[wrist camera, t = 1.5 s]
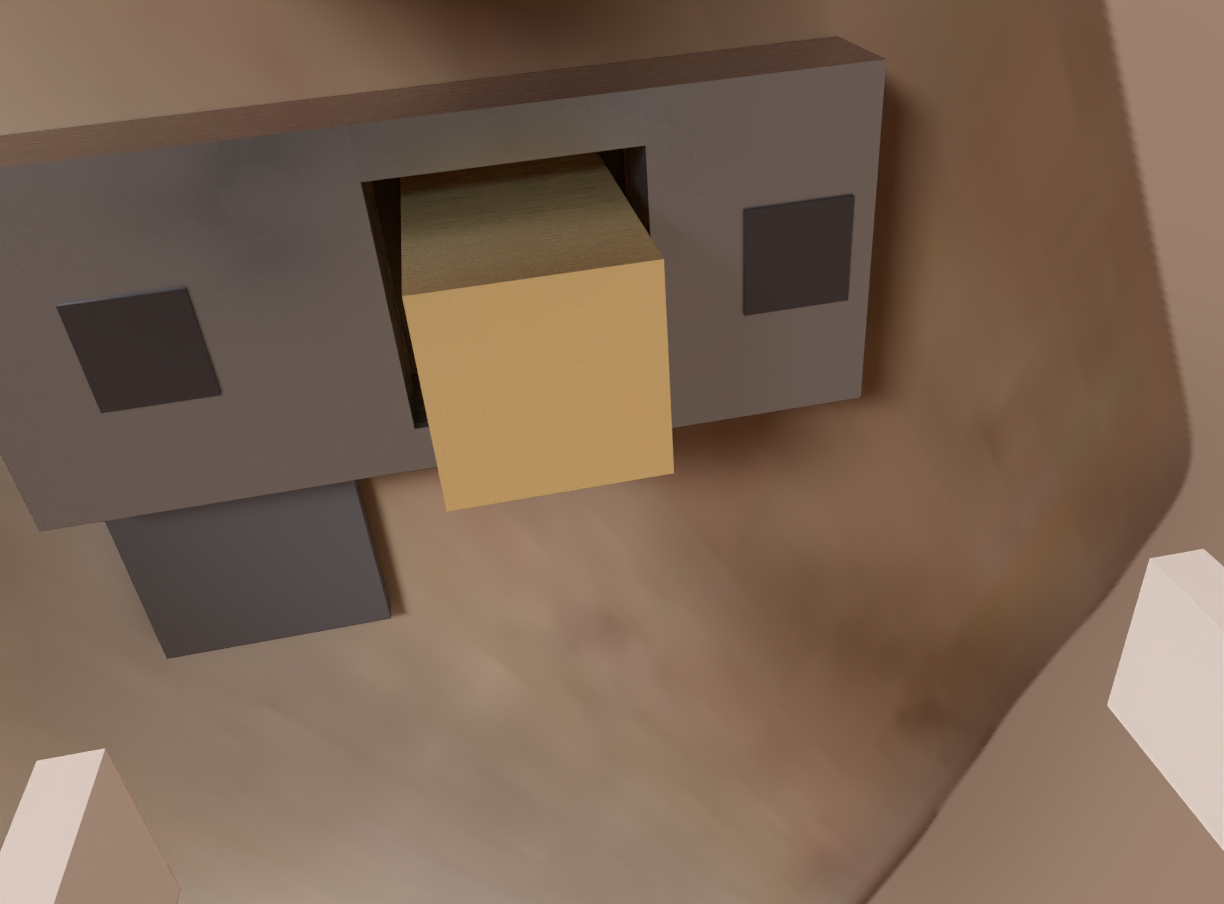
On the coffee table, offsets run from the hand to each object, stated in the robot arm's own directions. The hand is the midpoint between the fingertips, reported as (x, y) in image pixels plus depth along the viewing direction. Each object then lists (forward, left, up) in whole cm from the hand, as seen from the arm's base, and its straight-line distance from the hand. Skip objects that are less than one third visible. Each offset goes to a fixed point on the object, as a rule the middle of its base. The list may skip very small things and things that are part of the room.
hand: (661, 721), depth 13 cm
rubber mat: (-9, -8, -17) cm, 21 cm away
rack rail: (-2, 0, -17) cm, 17 cm away
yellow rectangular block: (0, 0, -17) cm, 17 cm away
